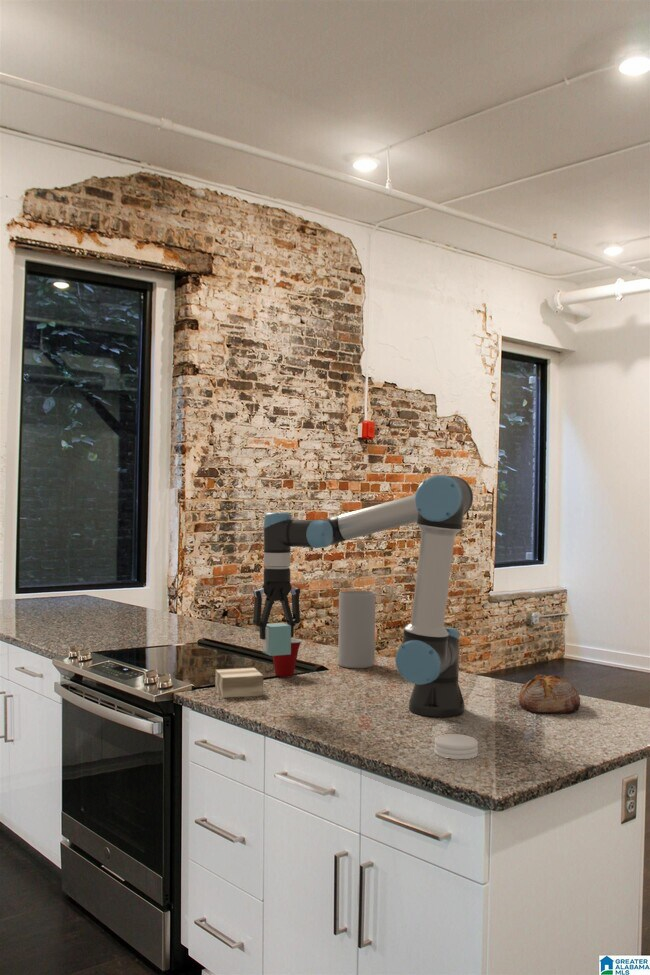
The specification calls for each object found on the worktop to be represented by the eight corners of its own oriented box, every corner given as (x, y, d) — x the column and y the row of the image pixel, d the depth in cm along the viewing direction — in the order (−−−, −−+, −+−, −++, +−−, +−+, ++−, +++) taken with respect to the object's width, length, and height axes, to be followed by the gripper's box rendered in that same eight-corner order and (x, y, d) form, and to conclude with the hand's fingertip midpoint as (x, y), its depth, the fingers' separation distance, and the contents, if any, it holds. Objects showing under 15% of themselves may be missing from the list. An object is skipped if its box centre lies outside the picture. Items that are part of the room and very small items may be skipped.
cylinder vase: (366, 661, 310) (367, 590, 310) (379, 668, 298) (380, 594, 298) (333, 662, 306) (334, 591, 306) (345, 669, 294) (346, 595, 294)
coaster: (438, 746, 208) (438, 731, 208) (480, 750, 205) (480, 735, 205) (430, 758, 199) (430, 743, 199) (475, 763, 196) (475, 747, 196)
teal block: (290, 654, 244) (290, 625, 245) (270, 656, 242) (271, 627, 242) (282, 650, 250) (282, 622, 250) (262, 652, 247) (262, 624, 247)
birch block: (263, 696, 256) (263, 675, 256) (222, 698, 253) (222, 677, 253) (254, 687, 268) (254, 667, 268) (215, 689, 264) (215, 669, 264)
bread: (508, 713, 244) (506, 677, 244) (536, 700, 260) (535, 666, 260) (565, 719, 234) (563, 681, 234) (591, 705, 250) (589, 670, 250)
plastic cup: (308, 675, 285) (309, 638, 285) (285, 680, 277) (285, 642, 277) (284, 670, 292) (285, 634, 292) (261, 675, 284) (261, 638, 284)
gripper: (302, 565, 254) (301, 645, 253) (240, 567, 245) (240, 650, 245) (313, 567, 247) (313, 649, 247) (250, 569, 238) (250, 654, 238)
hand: (276, 649), depth 246 cm, fingers closed on teal block, 6 cm apart
